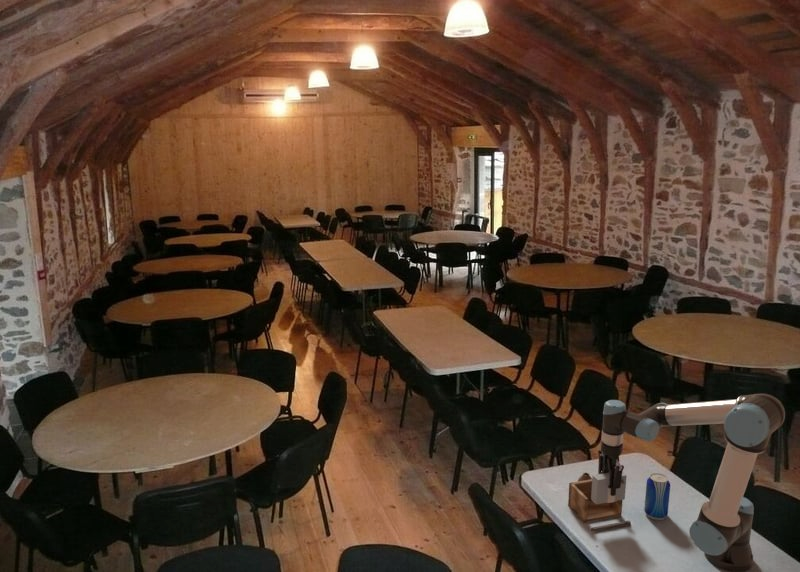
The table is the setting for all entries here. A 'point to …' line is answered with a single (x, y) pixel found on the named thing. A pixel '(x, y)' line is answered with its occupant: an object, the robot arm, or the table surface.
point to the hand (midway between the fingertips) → (607, 498)
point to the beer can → (657, 496)
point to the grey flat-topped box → (606, 488)
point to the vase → (584, 477)
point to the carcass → (593, 506)
